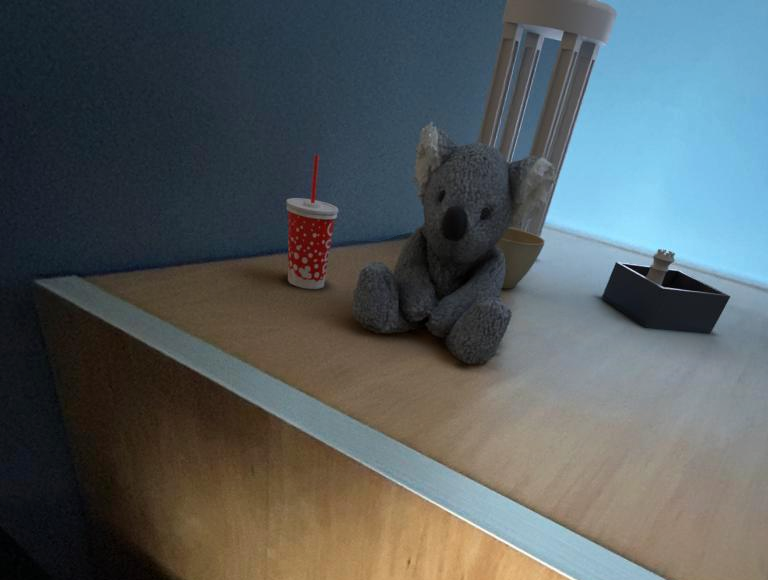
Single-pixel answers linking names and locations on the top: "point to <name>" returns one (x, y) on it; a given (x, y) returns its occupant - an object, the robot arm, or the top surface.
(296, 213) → the beverage cup
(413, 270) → the koala plush
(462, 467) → the top surface
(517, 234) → the flower pot
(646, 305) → the bin
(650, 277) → the rook chess piece
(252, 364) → the top surface
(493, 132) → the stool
